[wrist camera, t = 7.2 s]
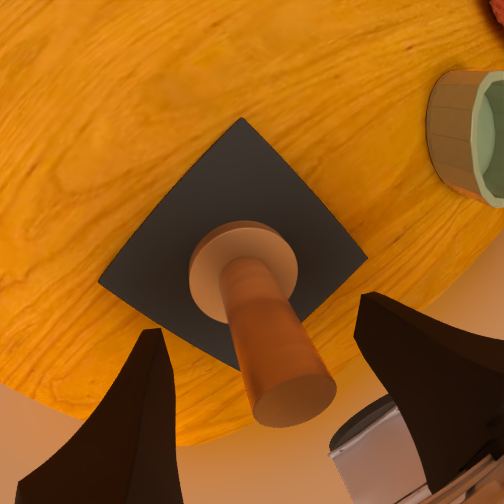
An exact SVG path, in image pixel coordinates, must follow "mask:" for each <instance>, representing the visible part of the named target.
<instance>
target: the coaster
mask: <svg viewBox="0 0 504 504" xmlns="http://www.w3.org/2000/svg"><path fill="white" fill-rule="evenodd" d="M234 221H256V222H259V223H263V224H265V225H267V226H269V227H271V228H273V229H274V230H275V231H277V232H278V233H279V234H280V235H281V236H282V237H283V238H284V240H285V241H286V242H287V243H288V244H289V246H290V247H291V249H292V250H293V252H294V255H295V257H296V261H297V267H298V275H297V281H296V285H295V288H294V290H293V292H292V294H291V296H290V297H289V299H288V301H289V303H290V305H291V306H292V308H293V310H294V312H295V313H296V315H297V317H298V318H299V320H300V322H302V321H303V320H305V319H306V318H307V317H308V316H309V315H310V314H311V313H312V312H313V311H314V310H315V309H317V308H318V307H319V306H320V305H321V304H322V303H323V302H324V301H325V300H326V299H327V298H328V297H329V296H330V295H331V294H332V293H334V292H335V291H336V290H337V289H338V288H339V287H340V286H341V285H342V284H343V283H344V282H345V281H346V280H347V279H348V278H349V277H350V276H351V275H352V274H353V273H354V272H355V271H356V270H357V269H358V268H359V267H360V266H361V265H362V264H363V263H364V262H365V261H366V260H367V259H368V257H367V256H366V255H365V254H364V252H363V251H362V250H361V249H360V247H359V246H358V245H357V244H356V242H355V241H354V240H353V239H352V237H351V236H350V235H349V234H348V232H347V231H346V230H345V229H344V228H343V226H342V225H341V224H340V223H339V222H338V220H337V219H336V218H335V217H334V216H333V214H332V213H331V212H330V211H329V210H328V209H327V207H326V206H325V205H324V204H323V203H322V202H321V200H320V199H319V198H318V197H317V196H316V195H315V194H314V192H313V191H312V190H311V189H310V188H309V187H308V186H307V185H306V183H305V182H304V181H303V180H302V179H301V178H300V177H299V176H298V175H297V174H296V172H295V171H294V170H293V169H292V168H291V167H290V166H289V165H288V164H287V163H286V162H285V161H284V159H283V158H282V157H281V156H280V155H279V154H278V153H277V152H276V151H275V150H274V149H273V148H272V147H271V146H270V145H269V144H268V143H267V142H266V141H265V140H264V139H263V138H262V137H261V136H260V134H259V133H258V132H257V131H256V130H255V129H254V128H253V127H252V126H251V125H250V124H249V123H248V122H247V121H246V120H245V119H244V118H239V119H238V120H237V121H236V122H235V123H234V124H233V125H232V126H231V127H230V128H229V129H228V130H227V131H226V132H225V133H224V134H223V135H222V136H221V137H220V138H219V139H218V140H217V141H216V142H215V143H214V144H213V145H212V146H211V147H210V148H209V149H208V150H207V151H206V152H205V153H204V154H203V155H202V156H201V157H200V158H199V160H198V161H197V162H196V163H195V164H194V165H193V166H192V167H191V168H190V169H189V170H188V171H187V172H186V173H185V175H184V176H183V177H182V178H181V179H180V180H179V181H178V182H177V183H176V184H175V186H174V187H173V188H172V189H171V190H170V191H169V192H168V193H167V195H166V196H165V197H164V198H163V199H162V200H161V202H160V203H159V204H158V205H157V206H156V207H155V209H154V210H153V211H152V212H151V213H150V214H149V216H148V217H147V218H146V219H145V220H144V222H143V223H142V224H141V225H140V226H139V228H138V229H137V230H136V231H135V233H134V234H133V235H132V236H131V238H130V239H129V240H128V241H127V243H126V244H125V245H124V246H123V248H122V249H121V250H120V252H119V253H118V254H117V255H116V257H115V258H114V259H113V261H112V262H111V263H110V265H109V266H108V267H107V269H106V270H105V271H104V273H103V274H102V275H101V277H100V278H99V280H98V283H99V284H101V285H102V286H103V287H105V288H106V289H108V290H109V291H110V292H112V293H113V294H115V295H116V296H117V297H119V298H120V299H122V300H123V301H125V302H126V303H128V304H129V305H130V306H132V307H133V308H135V309H136V310H138V311H139V312H141V313H142V314H144V315H145V316H147V317H148V318H150V319H152V320H153V321H155V322H156V323H158V324H159V325H161V326H163V327H164V328H166V329H167V330H169V331H171V332H172V333H174V334H175V335H177V336H179V337H180V338H182V339H184V340H185V341H187V342H189V343H190V344H192V345H194V346H195V347H197V348H199V349H201V350H202V351H204V352H206V353H208V354H209V355H211V356H213V357H215V358H216V359H218V360H220V361H222V362H224V363H225V364H227V365H229V366H231V367H233V368H235V369H237V370H239V371H240V372H241V370H240V366H239V362H238V359H237V355H236V351H235V347H234V343H233V340H232V336H231V332H230V328H229V324H227V323H223V322H220V321H217V320H215V319H213V318H211V317H209V316H208V315H207V314H205V313H204V312H203V311H202V310H201V309H200V308H199V307H198V306H197V304H196V303H195V301H194V299H193V297H192V294H191V291H190V286H189V262H190V259H191V256H192V253H193V251H194V249H195V248H196V246H197V244H198V243H199V242H200V241H201V240H202V238H203V237H205V236H206V235H207V234H208V233H209V232H211V231H212V230H213V229H215V228H217V227H219V226H221V225H224V224H226V223H230V222H234Z"/></svg>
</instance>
